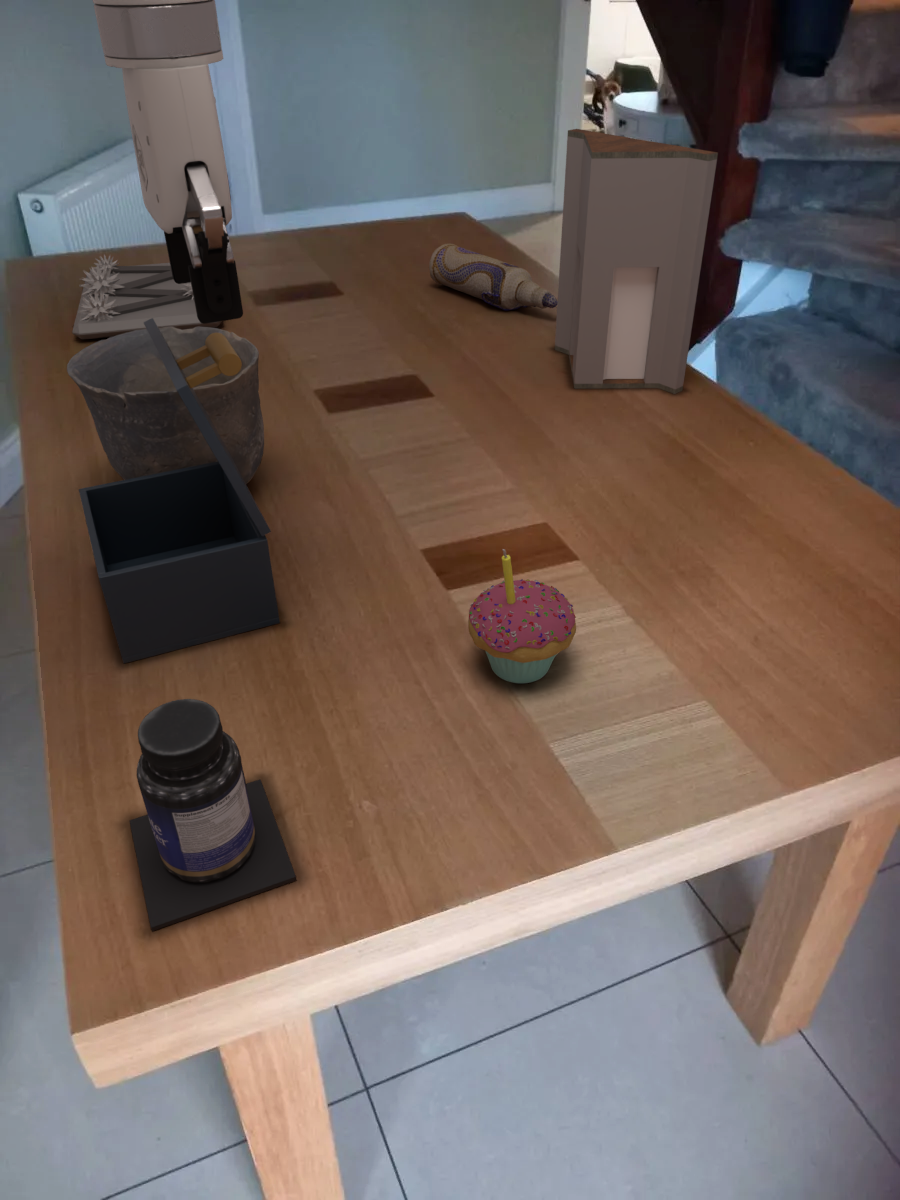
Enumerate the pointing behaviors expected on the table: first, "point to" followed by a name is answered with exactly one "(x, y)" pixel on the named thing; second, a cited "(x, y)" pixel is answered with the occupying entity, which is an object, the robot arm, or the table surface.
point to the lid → (224, 364)
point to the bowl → (168, 403)
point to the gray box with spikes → (133, 300)
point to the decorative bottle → (487, 279)
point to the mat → (188, 899)
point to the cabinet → (630, 259)
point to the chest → (178, 560)
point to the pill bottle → (194, 791)
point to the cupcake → (521, 626)
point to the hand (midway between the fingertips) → (207, 299)
